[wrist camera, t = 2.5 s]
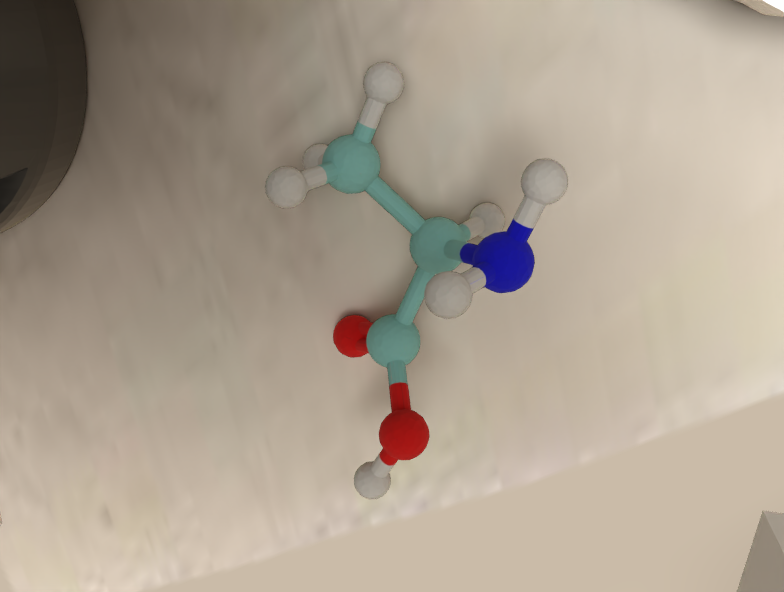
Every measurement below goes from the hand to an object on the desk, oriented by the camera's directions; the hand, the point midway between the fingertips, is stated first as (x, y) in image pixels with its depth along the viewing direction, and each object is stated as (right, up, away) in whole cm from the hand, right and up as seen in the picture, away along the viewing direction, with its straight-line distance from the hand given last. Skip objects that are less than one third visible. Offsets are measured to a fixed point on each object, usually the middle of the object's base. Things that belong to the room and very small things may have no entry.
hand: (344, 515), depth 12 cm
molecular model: (+2, +6, +14) cm, 16 cm away
